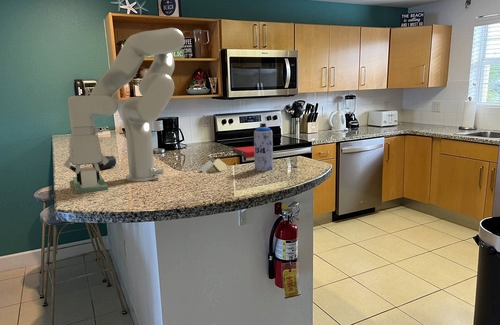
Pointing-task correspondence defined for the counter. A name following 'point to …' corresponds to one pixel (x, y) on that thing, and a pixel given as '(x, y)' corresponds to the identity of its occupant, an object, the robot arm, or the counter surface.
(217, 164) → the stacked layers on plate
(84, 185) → the plug cap
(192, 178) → the counter surface
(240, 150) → the red device housing
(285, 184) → the counter surface
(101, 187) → the header board
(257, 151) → the aerosol can
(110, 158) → the speaker
